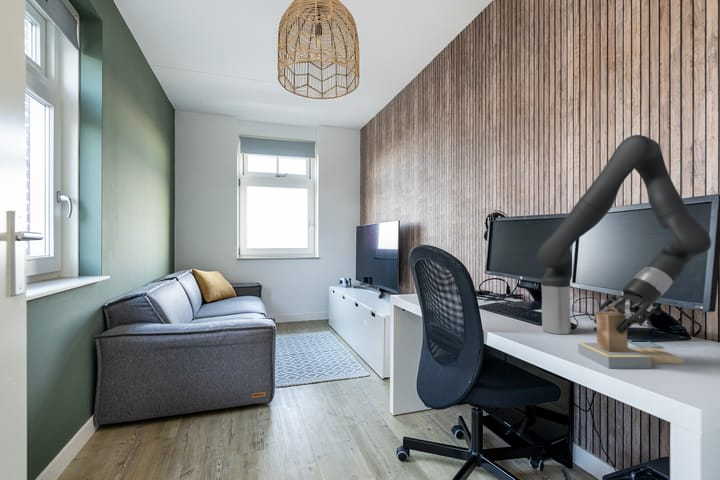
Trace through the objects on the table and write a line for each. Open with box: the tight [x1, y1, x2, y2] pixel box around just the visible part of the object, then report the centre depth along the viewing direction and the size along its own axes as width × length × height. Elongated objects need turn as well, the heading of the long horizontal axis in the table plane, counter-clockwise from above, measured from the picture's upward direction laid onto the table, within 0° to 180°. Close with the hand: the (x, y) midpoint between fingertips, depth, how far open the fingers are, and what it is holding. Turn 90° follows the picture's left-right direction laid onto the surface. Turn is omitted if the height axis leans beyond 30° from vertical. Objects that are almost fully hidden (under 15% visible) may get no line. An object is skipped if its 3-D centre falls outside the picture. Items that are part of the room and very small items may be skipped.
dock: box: [577, 342, 652, 369], centre depth 96 cm, size 13×11×3 cm
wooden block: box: [595, 311, 629, 352], centre depth 96 cm, size 5×5×10 cm
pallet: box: [628, 346, 685, 365], centre depth 97 cm, size 10×10×2 cm
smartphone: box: [627, 341, 665, 350], centre depth 113 cm, size 7×1×15 cm
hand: (606, 327), depth 96 cm, fingers open, 8 cm apart
